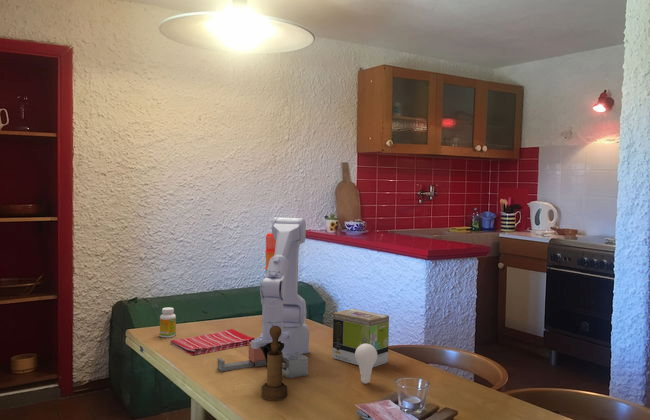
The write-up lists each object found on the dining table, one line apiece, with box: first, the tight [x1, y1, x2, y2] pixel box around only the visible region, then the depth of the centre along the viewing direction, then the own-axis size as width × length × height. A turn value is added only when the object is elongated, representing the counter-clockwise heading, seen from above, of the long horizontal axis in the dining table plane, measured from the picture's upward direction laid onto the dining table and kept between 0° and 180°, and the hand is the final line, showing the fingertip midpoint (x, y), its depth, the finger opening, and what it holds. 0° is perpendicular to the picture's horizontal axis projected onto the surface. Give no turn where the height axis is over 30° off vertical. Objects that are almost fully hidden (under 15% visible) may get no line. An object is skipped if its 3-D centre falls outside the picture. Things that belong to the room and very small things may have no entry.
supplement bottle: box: [159, 306, 177, 339], centre depth 198 cm, size 5×5×10 cm
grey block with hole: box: [282, 352, 309, 379], centre depth 161 cm, size 6×6×5 cm
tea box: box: [332, 308, 390, 369], centre depth 175 cm, size 15×10×15 cm, turn 47°
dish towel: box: [169, 328, 256, 356], centre depth 190 cm, size 17×24×3 cm
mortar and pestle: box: [260, 326, 288, 401], centre depth 144 cm, size 7×6×18 cm
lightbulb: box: [355, 344, 377, 385], centre depth 154 cm, size 6×6×11 cm
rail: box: [217, 357, 255, 373], centre depth 167 cm, size 18×3×3 cm, turn 120°
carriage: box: [248, 342, 267, 367], centre depth 169 cm, size 6×4×6 cm
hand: (271, 368), depth 158 cm, fingers closed
